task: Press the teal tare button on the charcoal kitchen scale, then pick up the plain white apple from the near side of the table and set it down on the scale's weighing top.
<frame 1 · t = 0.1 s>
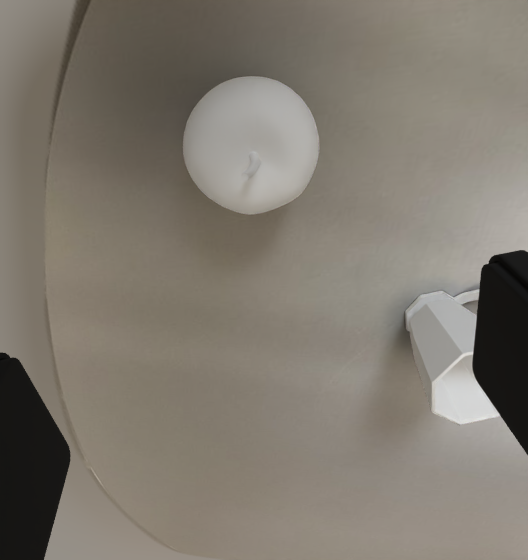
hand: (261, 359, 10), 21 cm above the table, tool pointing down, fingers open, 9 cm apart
plain white apple: (245, 128, 29), on the table
cup: (447, 302, 37), on the table
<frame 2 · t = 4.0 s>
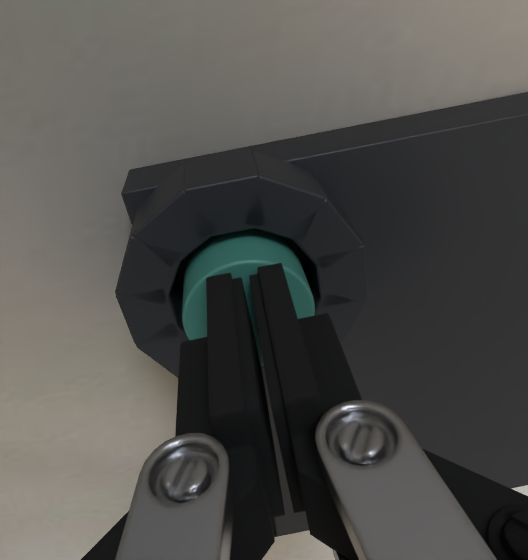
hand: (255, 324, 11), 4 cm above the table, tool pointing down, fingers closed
tare button: (246, 297, 12), point 3 cm above the table, slide at -0.4 cm, touching gripper
scale: (386, 342, 18), on the table
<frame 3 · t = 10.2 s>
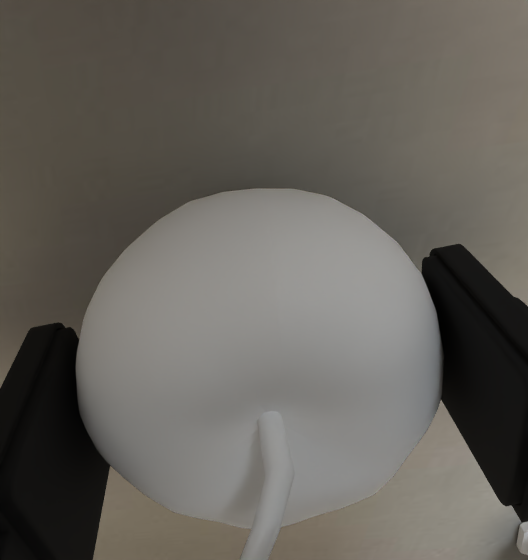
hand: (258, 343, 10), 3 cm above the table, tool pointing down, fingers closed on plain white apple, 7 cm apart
plain white apple: (246, 263, 13), on the table, touching gripper
when the fingers open (5 cm above the table, at t = 18.2 s): plain white apple stays where it is, resting on scale.
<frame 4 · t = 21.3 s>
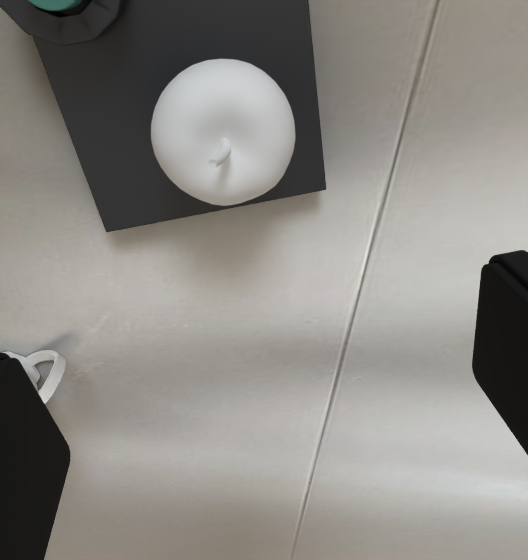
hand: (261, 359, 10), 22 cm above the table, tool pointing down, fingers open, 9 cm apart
plain white apple: (221, 116, 27), point 2 cm above the table, touching scale
scale: (186, 70, 27), on the table
cup: (24, 362, 37), on the table
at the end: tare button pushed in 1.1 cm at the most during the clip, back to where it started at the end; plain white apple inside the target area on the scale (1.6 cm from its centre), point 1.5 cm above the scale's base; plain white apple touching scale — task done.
